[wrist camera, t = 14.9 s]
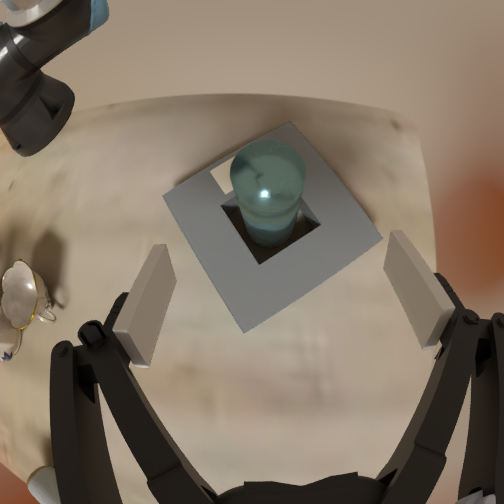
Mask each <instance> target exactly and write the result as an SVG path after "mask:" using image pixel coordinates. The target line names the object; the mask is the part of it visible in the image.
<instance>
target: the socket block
mask: <svg viewBox="0 0 504 504" xmlns="http://www.w3.org/2000/svg"><path fill="white" fill-rule="evenodd" d="M262 140H274V141H279V142H282V143H285V144H287V145H289V146H290V147H292V148H293V149H294V150H296V152H297V153H298V154H299V155H300V156H301V158H302V160H303V162H304V165H305V169H306V178H305V182H304V187H303V191H302V196H301V200H300V205H299V209H300V210H301V211H302V213H303V214H304V215H305V217H306V218H307V220H308V221H309V222H310V224H311V225H312V227H313V228H314V230H313V231H311V232H310V233H308V234H307V235H305V236H303V237H302V238H300V239H299V240H297V241H296V242H294V243H293V244H291V245H290V246H288V247H287V248H285V249H283V250H282V251H280V252H279V253H277V254H276V255H274V256H273V257H271V258H270V259H268V260H266V261H265V262H263V263H262V264H260V265H259V264H258V263H257V261H256V260H255V258H254V256H253V255H252V253H251V252H250V250H249V249H248V247H247V246H246V244H245V243H244V241H243V240H242V238H241V237H240V235H239V233H238V232H237V230H236V229H235V227H234V226H233V224H232V223H231V221H230V220H229V218H228V217H227V215H226V214H228V213H229V212H231V211H232V210H234V209H236V208H237V207H239V204H238V201H237V198H236V195H235V192H234V189H233V186H232V183H231V180H230V167H231V164H232V161H233V159H234V157H235V156H236V155H237V153H238V152H239V151H240V150H242V149H243V148H244V147H246V146H247V145H249V144H251V143H254V142H257V141H262ZM163 198H164V200H165V202H166V204H167V206H168V207H169V209H170V211H171V213H172V215H173V216H174V218H175V220H176V222H177V223H178V225H179V227H180V229H181V231H182V232H183V234H184V236H185V238H186V239H187V241H188V243H189V245H190V246H191V248H192V250H193V251H194V253H195V255H196V257H197V258H198V260H199V262H200V263H201V265H202V267H203V268H204V270H205V272H206V273H207V275H208V277H209V278H210V280H211V282H212V283H213V285H214V287H215V288H216V290H217V292H218V293H219V295H220V297H221V298H222V300H223V301H224V303H225V305H226V306H227V308H228V309H229V311H230V313H231V314H232V316H233V317H234V319H235V321H236V322H237V324H238V325H239V327H240V328H241V330H242V332H243V333H246V332H247V331H249V330H251V329H252V328H254V327H255V326H257V325H259V324H260V323H262V322H263V321H265V320H267V319H268V318H270V317H271V316H273V315H274V314H276V313H277V312H279V311H281V310H282V309H284V308H285V307H287V306H288V305H290V304H291V303H293V302H294V301H296V300H297V299H299V298H300V297H302V296H303V295H305V294H306V293H308V292H309V291H311V290H312V289H314V288H315V287H317V286H318V285H320V284H321V283H323V282H324V281H325V280H327V279H328V278H330V277H331V276H333V275H334V274H335V273H337V272H338V271H340V270H341V269H343V268H344V267H345V266H347V265H348V264H350V263H351V262H352V261H354V260H355V259H356V258H358V257H359V256H361V255H362V254H363V253H365V252H366V251H367V250H369V249H370V248H371V247H373V246H374V245H375V244H377V243H378V242H379V241H381V240H382V239H383V237H382V236H381V234H380V233H379V232H378V230H377V229H376V227H375V226H374V224H373V223H372V222H371V220H370V219H369V217H368V216H367V215H366V213H365V212H364V210H363V209H362V208H361V206H360V205H359V204H358V202H357V201H356V200H355V198H354V197H353V196H352V194H351V193H350V192H349V190H348V189H347V188H346V186H345V185H344V184H343V183H342V181H341V180H340V179H339V178H338V176H337V175H336V174H335V173H334V171H333V170H332V169H331V168H330V166H329V165H328V164H327V163H326V162H325V160H324V159H323V158H322V157H321V156H320V154H319V153H318V152H317V151H316V150H315V149H314V147H313V146H312V145H311V144H310V143H309V142H308V140H307V139H306V138H305V137H304V136H303V135H302V134H301V133H300V131H299V130H298V129H297V128H296V127H295V126H294V125H293V124H292V123H291V122H290V121H289V122H287V123H285V124H283V125H281V126H279V127H277V128H275V129H273V130H272V131H270V132H268V133H266V134H264V135H262V136H260V137H258V138H257V139H255V140H253V141H251V142H249V143H248V144H246V145H244V146H242V147H240V148H239V149H237V150H235V151H233V152H232V153H230V154H228V155H226V156H225V157H223V158H221V159H220V160H218V161H216V162H215V163H213V164H211V165H210V166H208V167H206V168H205V169H203V170H201V171H200V172H198V173H197V174H195V175H193V176H192V177H190V178H189V179H187V180H186V181H184V182H182V183H181V184H179V185H178V186H176V187H175V188H173V189H172V190H170V191H169V192H167V193H166V194H164V195H163Z"/></svg>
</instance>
